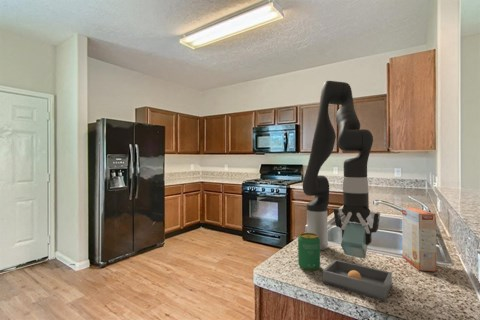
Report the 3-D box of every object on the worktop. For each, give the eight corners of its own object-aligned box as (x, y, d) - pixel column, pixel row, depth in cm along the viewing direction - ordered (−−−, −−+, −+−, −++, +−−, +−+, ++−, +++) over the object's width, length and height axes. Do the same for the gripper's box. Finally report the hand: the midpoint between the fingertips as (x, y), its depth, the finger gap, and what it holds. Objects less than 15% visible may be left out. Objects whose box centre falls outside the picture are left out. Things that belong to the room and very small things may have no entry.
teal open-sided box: (361, 249, 75) (366, 224, 80) (340, 245, 79) (346, 222, 84) (365, 258, 78) (369, 235, 83) (345, 254, 82) (350, 232, 87)
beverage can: (319, 263, 99) (318, 232, 99) (321, 272, 91) (320, 239, 91) (298, 262, 100) (297, 231, 100) (298, 270, 93) (298, 237, 93)
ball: (361, 288, 79) (365, 275, 80) (354, 283, 77) (359, 270, 78) (349, 283, 82) (353, 271, 83) (343, 278, 80) (347, 266, 82)
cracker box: (438, 272, 89) (436, 213, 89) (418, 271, 91) (417, 213, 91) (418, 257, 103) (417, 206, 103) (402, 256, 104) (401, 206, 104)
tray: (322, 283, 83) (322, 270, 83) (335, 270, 92) (335, 259, 92) (385, 301, 71) (385, 287, 72) (392, 285, 81) (391, 272, 81)
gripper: (382, 191, 80) (383, 243, 80) (336, 188, 89) (337, 235, 89) (377, 193, 75) (378, 250, 74) (329, 190, 84) (330, 241, 84)
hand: (356, 242), depth 82 cm, fingers closed on teal open-sided box, 6 cm apart
